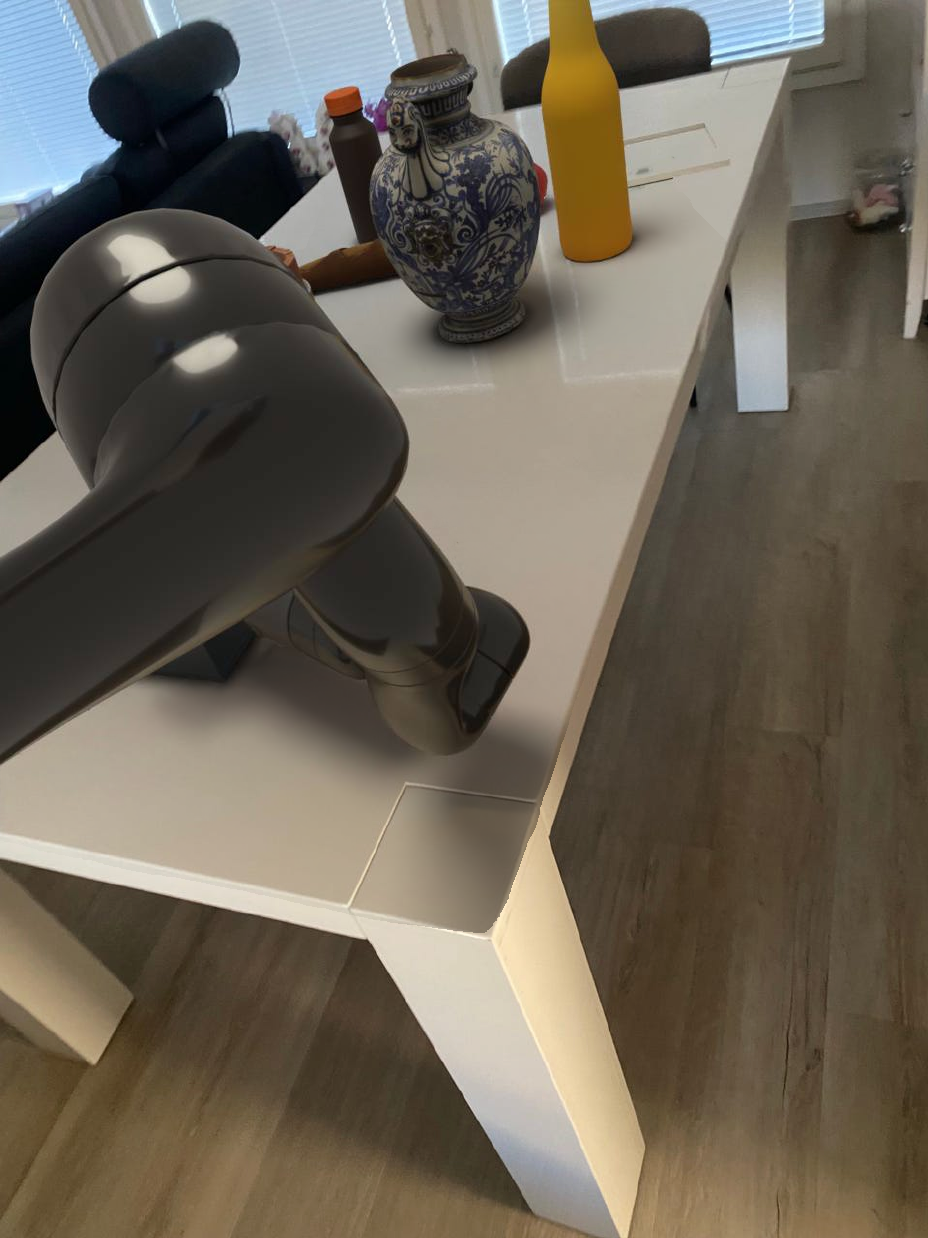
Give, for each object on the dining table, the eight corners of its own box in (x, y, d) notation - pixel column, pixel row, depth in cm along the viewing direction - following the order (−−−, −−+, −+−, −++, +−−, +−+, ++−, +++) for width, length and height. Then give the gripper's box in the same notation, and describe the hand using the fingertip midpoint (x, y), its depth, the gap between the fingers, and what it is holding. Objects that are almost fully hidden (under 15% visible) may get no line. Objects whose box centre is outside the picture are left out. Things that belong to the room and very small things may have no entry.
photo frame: (624, 179, 135) (611, 139, 148) (625, 187, 136) (612, 147, 149) (730, 156, 133) (707, 118, 146) (730, 165, 134) (707, 126, 147)
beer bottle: (587, 269, 119) (554, 2, 100) (548, 251, 126) (509, -3, 106) (648, 242, 121) (626, -25, 102) (606, 225, 128) (578, -28, 109)
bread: (519, 238, 131) (513, 201, 128) (522, 252, 127) (515, 215, 124) (256, 296, 136) (243, 262, 133) (251, 311, 132) (238, 276, 129)
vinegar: (365, 231, 145) (325, 88, 132) (407, 225, 144) (371, 80, 130) (353, 250, 141) (310, 104, 128) (396, 244, 139) (357, 95, 126)
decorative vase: (434, 287, 125) (376, 48, 106) (573, 275, 119) (537, 19, 100) (381, 372, 111) (304, 113, 92) (536, 363, 104) (486, 84, 86)
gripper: (339, 492, 70) (208, 445, 79) (189, 612, 63) (66, 544, 73) (367, 570, 75) (241, 516, 84) (231, 688, 68) (110, 615, 78)
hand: (160, 529), depth 78 cm, fingers open, 8 cm apart
